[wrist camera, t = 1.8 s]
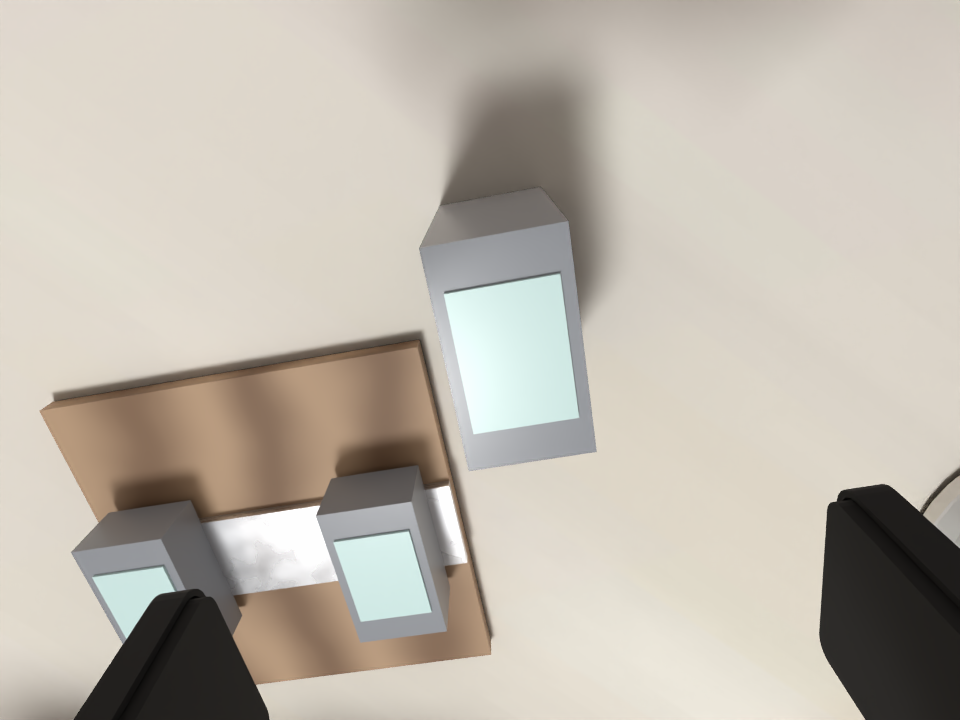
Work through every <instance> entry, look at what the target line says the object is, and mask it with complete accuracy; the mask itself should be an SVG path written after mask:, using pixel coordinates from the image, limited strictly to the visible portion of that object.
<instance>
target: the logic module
mask: <svg viewBox="0 0 960 720" xmlns="http://www.w3.org/2000/svg"><path fill="white" fill-rule="evenodd" d="M419 250H420V254H421V259H422V263H423V268H424V272H425V277H426V281H427V286H428V290H429V295H430V299H431V304H432V308H433V312H434V317H435V321H436V326H437V330H438V335H439V339H440V344H441V348H442V353H443V357H444V362H445V366H446V371H447V375H448V380H449V384H450V389H451V393H452V398H453V402H454V407H455V411H456V416H457V420H458V425H459V429H460V434H461V438H462V443H463V447H464V452H465V456H466V461H467V465H468V470H469V471H473V470H480V469H486V468H493V467H500V466H506V465H513V464H519V463H526V462H532V461H539V460H546V459H552V458H559V457H565V456H572V455H579V454H585V453H592V452H597V451H596V443H595V434H594V426H593V418H592V410H591V402H590V394H589V385H588V377H587V369H586V361H585V353H584V344H583V336H582V328H581V320H580V312H579V303H578V295H577V287H576V279H575V271H574V262H573V254H572V246H571V238H570V230H569V221H568V220H567V219H566V217H565V216H564V215H563V214H562V212H561V211H560V210H559V209H558V207H557V206H556V205H555V204H554V203H553V201H552V200H551V199H550V198H549V196H548V195H547V194H546V193H545V191H544V190H543V189H542V188H541V187H537V188H531V189H526V190H521V191H515V192H510V193H505V194H499V195H494V196H488V197H483V198H478V199H472V200H467V201H462V202H456V203H451V204H446V205H440V206H439V208H438V210H437V212H436V214H435V216H434V218H433V221H432V223H431V225H430V227H429V229H428V231H427V233H426V235H425V237H424V239H423V241H422V243H421V245H420V247H419Z"/></svg>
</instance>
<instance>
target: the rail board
mask: <svg viewBox="0 0 960 720" xmlns="http://www.w3.org/2000/svg"><path fill="white" fill-rule="evenodd" d="M40 413H41V415H42V417H43V419H44V421H45V422H46V424H47V426H48V428H49V430H50V432H51V434H52V436H53V437H54V439H55V441H56V443H57V445H58V447H59V449H60V451H61V453H62V454H63V456H64V458H65V460H66V462H67V464H68V466H69V468H70V470H71V471H72V473H73V475H74V477H75V479H76V481H77V483H78V485H79V486H80V488H81V490H82V492H83V494H84V496H85V498H86V500H87V502H88V503H89V505H90V507H91V509H92V511H93V513H94V515H95V517H96V519H97V520H98V522H99V523H98V524H97V525H96V527H95V528H94V529H93V530H92V531H91V532H90V533H89V534H88V535H87V536H86V537H85V538H84V539H83V540H82V541H81V542H80V543H79V545H78V546H77V547H76V548H75V549H74V550H73V551H72V552H71V553H72V555H73V557H74V558H75V560H76V562H77V564H78V566H79V567H80V569H81V571H82V573H83V574H84V576H85V578H86V580H87V581H88V583H89V585H90V587H91V588H92V590H93V592H94V594H95V596H96V597H97V599H98V601H99V603H100V604H101V606H102V608H103V610H104V611H105V613H106V615H107V617H108V618H109V620H110V622H111V624H112V625H113V627H114V629H115V631H116V633H117V634H118V636H119V638H120V640H121V641H122V643H123V644H124V642H125V641H126V639H127V638H128V636H129V635H130V633H131V631H132V630H133V628H134V627H135V625H136V624H137V622H138V621H139V619H140V618H141V616H142V615H143V613H144V612H145V610H146V609H147V607H148V606H149V604H150V602H151V601H152V600H153V599H154V598H155V597H156V596H158V595H159V594H162V593H169V592H175V591H182V590H188V589H200V590H201V591H203V593H204V594H205V596H206V597H212V598H214V600H215V601H216V603H217V605H218V607H219V609H220V611H221V613H222V616H223V618H224V620H225V622H226V624H227V626H228V628H229V630H230V632H231V634H232V637H233V639H234V641H235V643H236V645H237V647H238V649H239V651H240V653H241V655H242V658H243V660H244V662H245V664H246V666H247V668H248V670H249V672H250V674H251V676H252V678H253V681H254V683H255V685H257V684H264V683H272V682H280V681H288V680H296V679H303V678H311V677H319V676H327V675H335V674H343V673H350V672H358V671H366V670H374V669H382V668H390V667H397V666H405V665H413V664H421V663H429V662H436V661H444V660H452V659H460V658H468V657H476V656H483V655H491V639H490V635H489V631H488V627H487V622H486V618H485V614H484V610H483V606H482V601H481V597H480V593H479V589H478V584H477V580H476V576H475V572H474V568H473V563H472V559H471V555H470V551H469V546H468V542H467V538H466V534H465V530H464V525H463V521H462V517H461V513H460V508H459V504H458V500H457V496H456V492H455V487H454V483H453V479H452V475H451V470H450V466H449V462H448V458H447V454H446V449H445V445H444V441H443V437H442V432H441V428H440V424H439V420H438V416H437V411H436V407H435V403H434V399H433V395H432V390H431V386H430V382H429V378H428V373H427V369H426V365H425V361H424V357H423V352H422V348H421V344H420V340H414V341H408V342H403V343H397V344H391V345H385V346H379V347H373V348H367V349H361V350H355V351H349V352H344V353H338V354H332V355H326V356H320V357H314V358H308V359H302V360H296V361H291V362H285V363H279V364H273V365H267V366H261V367H255V368H249V369H243V370H238V371H232V372H226V373H220V374H214V375H208V376H202V377H196V378H190V379H185V380H179V381H173V382H167V383H161V384H155V385H149V386H143V387H137V388H131V389H126V390H120V391H114V392H108V393H102V394H96V395H90V396H84V397H78V398H73V399H67V400H61V401H55V402H52V403H51V404H49V405H48V406H46V407H45V408H43V409H42V410H40Z"/></svg>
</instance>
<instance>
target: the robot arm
mask: <svg viewBox="0 0 960 720" xmlns="http://www.w3.org/2000/svg"><path fill="white" fill-rule="evenodd" d="M819 636H820V642H821V646H822V649H823V652H824V654H825V656H826V658H827V660H828V662H829V664H830V665H831V667H832V668H833V670H834V671H835V673H836V675H837V676H838V678H839V679H840V681H841V682H842V684H843V685H844V687H845V689H846V690H847V692H848V693H849V695H850V696H851V698H852V699H853V701H854V703H855V704H856V706H857V707H858V709H859V710H860V712H861V713H862V715H863V717H864V718H865V720H960V475H959V476H958V477H957V478H955V479H954V480H953V481H952V482H950V483H949V484H948V485H947V486H946V487H945V488H944V489H943V490H942V491H941V492H940V493H939V495H938V496H937V497H936V498H935V499H934V500H933V501H932V502H931V504H930V505H929V507H928V508H927V510H926V511H925V513H924V514H923V515H922V514H921V513H920V512H919V511H918V510H917V509H916V508H915V507H913V506H912V505H911V504H910V503H909V502H908V501H907V500H906V499H905V498H903V497H902V496H901V495H900V494H899V493H898V492H897V491H896V490H895V489H893V488H892V487H890V486H889V485H885V484H880V485H873V486H867V487H860V488H853V489H847V490H843V491H841V492H840V493H839V495H838V498H837V502H832V503H830V504H829V506H828V509H827V522H826V537H825V553H824V568H823V584H822V599H821V615H820V631H819ZM74 720H269V714H268V710H267V708H266V706H265V704H264V702H263V699H262V697H261V695H260V693H259V691H258V689H257V687H256V685H255V683H254V681H253V678H252V676H251V674H250V672H249V670H248V668H247V666H246V664H245V662H244V660H243V658H242V655H241V653H240V651H239V649H238V647H237V645H236V643H235V641H234V639H233V637H232V634H231V632H230V630H229V628H228V626H227V624H226V622H225V620H224V618H223V616H222V613H221V611H220V609H219V607H218V605H217V603H216V601H215V600H214V598H212V597H206V596H205V594H204V593H203V591H201V590H200V589H188V590H182V591H175V592H169V593H162V594H159V595H158V596H156V597H155V598H154V599H153V600H152V601H151V602H150V604H149V606H148V607H147V609H146V610H145V612H144V613H143V615H142V616H141V618H140V619H139V621H138V622H137V624H136V625H135V627H134V628H133V630H132V631H131V633H130V635H129V636H128V638H127V639H126V641H125V642H124V644H123V645H122V647H121V648H120V650H119V651H118V653H117V654H116V656H115V657H114V659H113V660H112V662H111V664H110V665H109V667H108V668H107V670H106V671H105V673H104V674H103V676H102V677H101V679H100V680H99V682H98V683H97V685H96V686H95V688H94V689H93V691H92V693H91V694H90V696H89V697H88V699H87V700H86V702H85V703H84V705H83V706H82V708H81V709H80V711H79V712H78V714H77V715H76V717H75V718H74Z"/></svg>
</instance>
